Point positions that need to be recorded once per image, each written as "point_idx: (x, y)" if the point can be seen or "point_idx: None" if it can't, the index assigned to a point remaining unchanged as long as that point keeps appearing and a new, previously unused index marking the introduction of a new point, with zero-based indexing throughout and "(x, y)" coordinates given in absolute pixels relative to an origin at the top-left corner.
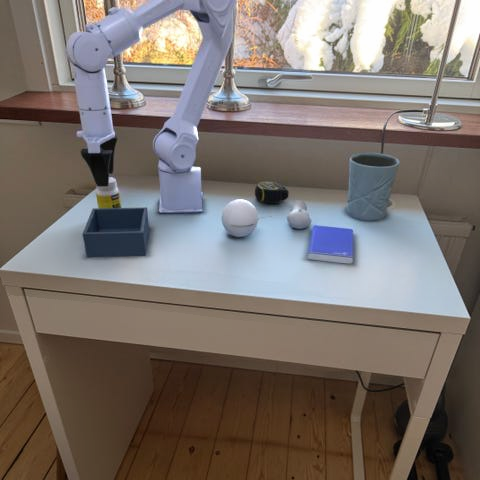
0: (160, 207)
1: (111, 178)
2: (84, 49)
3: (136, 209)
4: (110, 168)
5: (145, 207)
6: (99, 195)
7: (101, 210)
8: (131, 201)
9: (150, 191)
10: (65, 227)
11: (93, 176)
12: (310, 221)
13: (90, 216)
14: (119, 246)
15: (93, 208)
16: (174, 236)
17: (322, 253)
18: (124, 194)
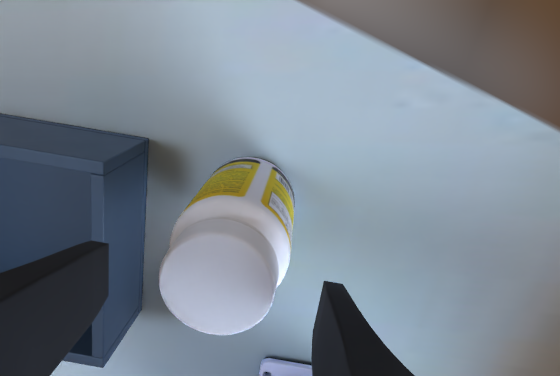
0: (297, 370)
1: (238, 317)
2: None
3: (94, 329)
4: (314, 348)
5: (101, 363)
6: (185, 211)
7: (93, 198)
8: (416, 282)
9: (504, 359)
10: (193, 7)
11: (36, 261)
12: None
13: (7, 151)
14: None
15: (101, 166)
16: (83, 365)
17: None
18: (510, 265)
